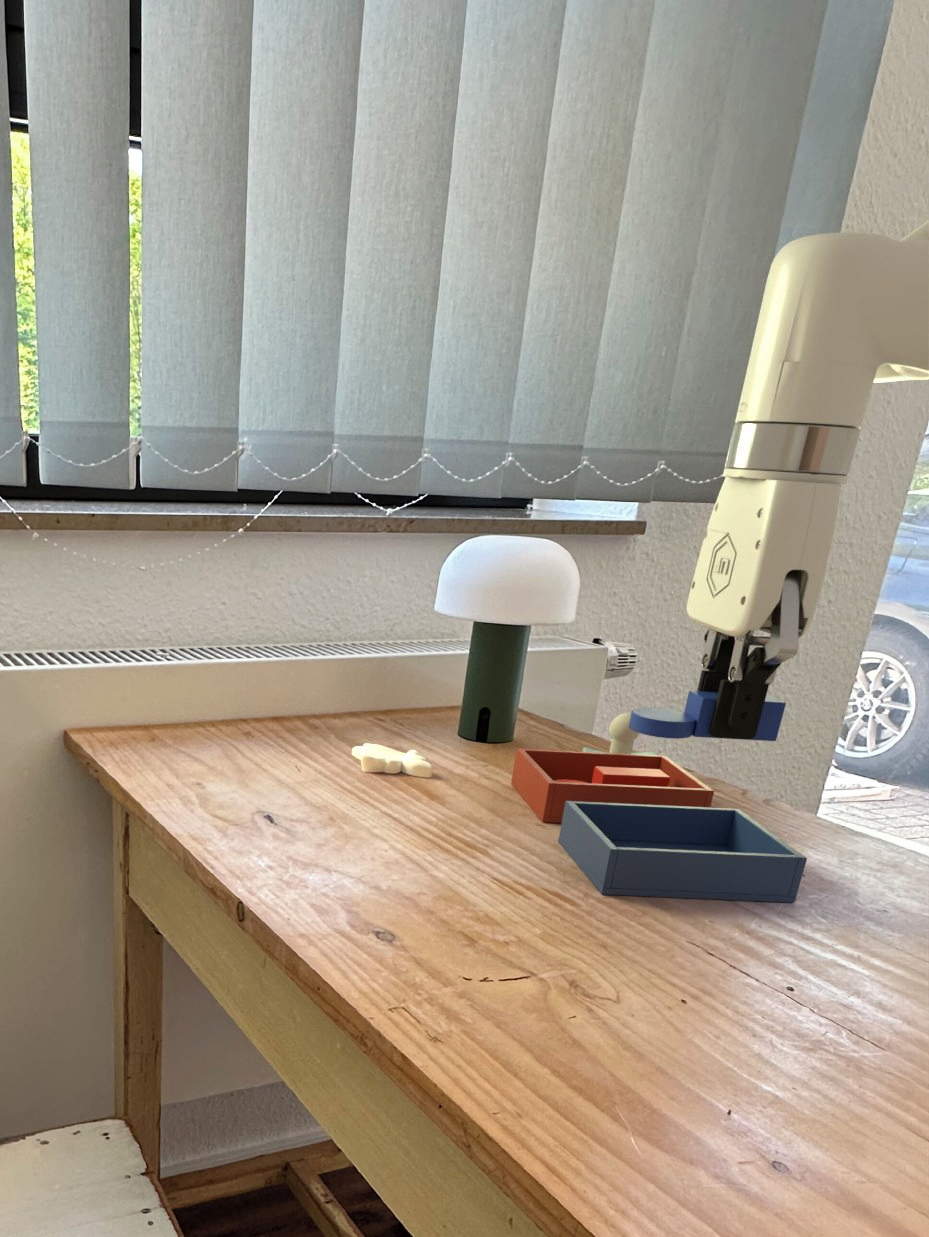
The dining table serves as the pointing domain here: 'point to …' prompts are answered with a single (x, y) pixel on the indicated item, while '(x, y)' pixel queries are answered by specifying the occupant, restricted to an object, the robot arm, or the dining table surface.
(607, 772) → the red disc paddle
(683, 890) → the blue bin
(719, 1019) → the dining table surface
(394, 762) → the acanthus leaf ornament
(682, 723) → the blue disc paddle
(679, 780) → the red bin
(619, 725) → the pacifier
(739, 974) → the dining table surface
